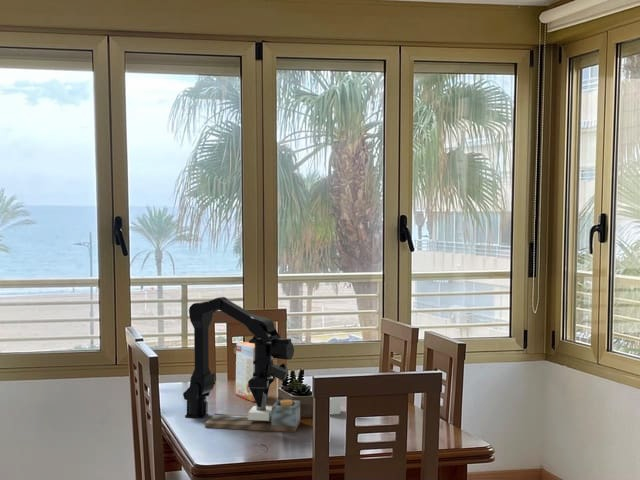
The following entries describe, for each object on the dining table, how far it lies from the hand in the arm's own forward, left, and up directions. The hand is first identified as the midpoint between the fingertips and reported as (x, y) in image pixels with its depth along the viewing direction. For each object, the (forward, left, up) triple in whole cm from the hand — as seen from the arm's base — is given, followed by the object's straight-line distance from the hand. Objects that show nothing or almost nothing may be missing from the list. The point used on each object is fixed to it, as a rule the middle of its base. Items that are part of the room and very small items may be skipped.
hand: (262, 403), depth 236 cm
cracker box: (-12, +37, -8) cm, 40 cm away
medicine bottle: (+20, +20, -8) cm, 29 cm away
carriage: (0, 0, -4) cm, 4 cm away
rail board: (-3, 0, -7) cm, 8 cm away
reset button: (+8, 0, -2) cm, 8 cm away
